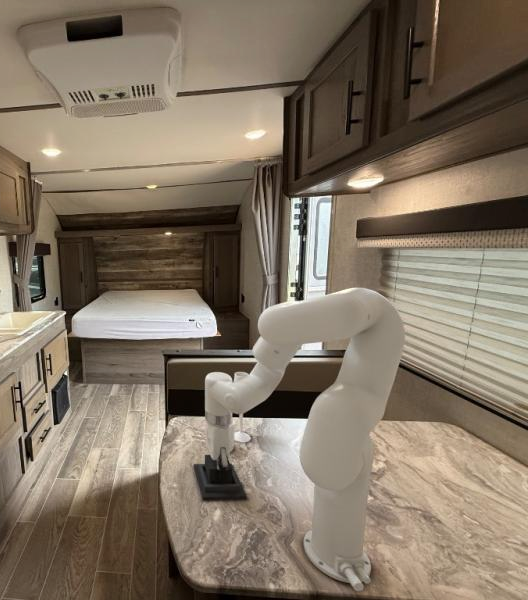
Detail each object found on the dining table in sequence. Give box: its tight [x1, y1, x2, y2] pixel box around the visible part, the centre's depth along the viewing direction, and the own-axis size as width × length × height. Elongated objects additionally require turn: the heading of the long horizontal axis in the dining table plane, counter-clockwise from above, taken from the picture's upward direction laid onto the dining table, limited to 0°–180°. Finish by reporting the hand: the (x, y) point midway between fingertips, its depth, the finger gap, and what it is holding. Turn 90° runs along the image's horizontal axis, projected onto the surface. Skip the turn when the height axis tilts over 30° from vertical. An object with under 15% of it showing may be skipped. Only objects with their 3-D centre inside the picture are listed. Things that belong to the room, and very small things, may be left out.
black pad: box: [204, 454, 232, 482], centre depth 96 cm, size 6×6×4 cm
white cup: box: [229, 417, 236, 453], centre depth 113 cm, size 8×8×10 cm
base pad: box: [193, 462, 247, 501], centre depth 97 cm, size 14×12×2 cm
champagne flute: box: [233, 371, 252, 443], centre depth 118 cm, size 7×7×24 cm
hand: (218, 471), depth 97 cm, fingers closed on black pad, 6 cm apart
